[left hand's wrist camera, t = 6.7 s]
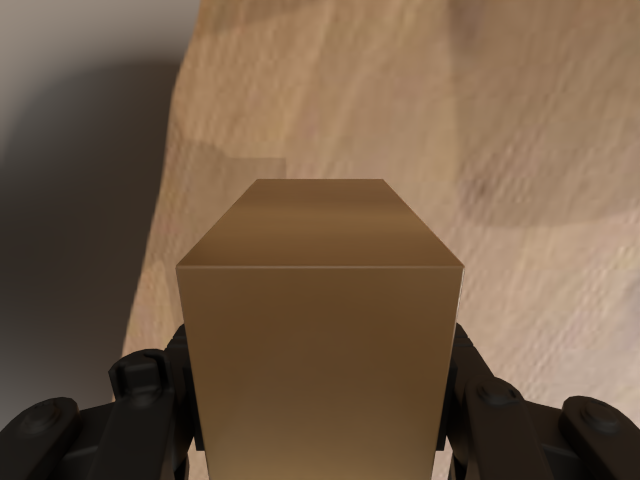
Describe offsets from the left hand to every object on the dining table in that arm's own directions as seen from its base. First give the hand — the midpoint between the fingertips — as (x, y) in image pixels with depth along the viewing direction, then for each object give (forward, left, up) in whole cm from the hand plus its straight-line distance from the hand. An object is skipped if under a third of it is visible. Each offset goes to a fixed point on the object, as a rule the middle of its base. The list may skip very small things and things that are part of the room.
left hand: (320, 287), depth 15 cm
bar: (+6, +4, -1) cm, 7 cm away
